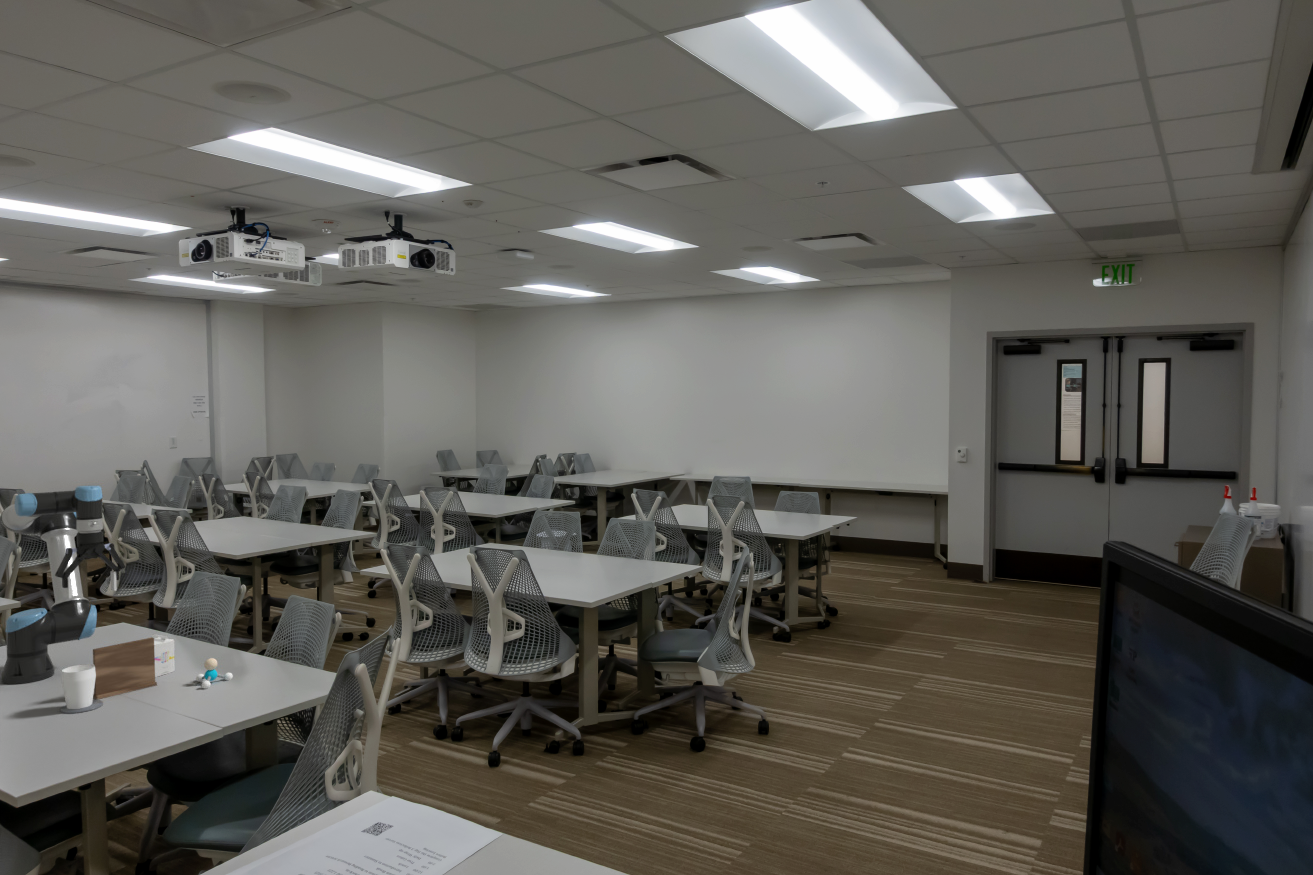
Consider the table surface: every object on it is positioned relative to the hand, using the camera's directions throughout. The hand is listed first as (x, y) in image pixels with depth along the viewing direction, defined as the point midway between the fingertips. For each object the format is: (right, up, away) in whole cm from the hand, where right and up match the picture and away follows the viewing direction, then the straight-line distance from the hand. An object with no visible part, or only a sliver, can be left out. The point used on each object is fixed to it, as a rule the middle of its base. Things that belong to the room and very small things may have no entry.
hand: (91, 593), depth 292 cm
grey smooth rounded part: (+10, -32, -20) cm, 39 cm away
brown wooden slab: (+14, -32, -5) cm, 35 cm away
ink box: (+13, -31, +15) cm, 37 cm away
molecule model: (+39, -32, +4) cm, 50 cm away
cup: (+10, -32, -21) cm, 39 cm away
